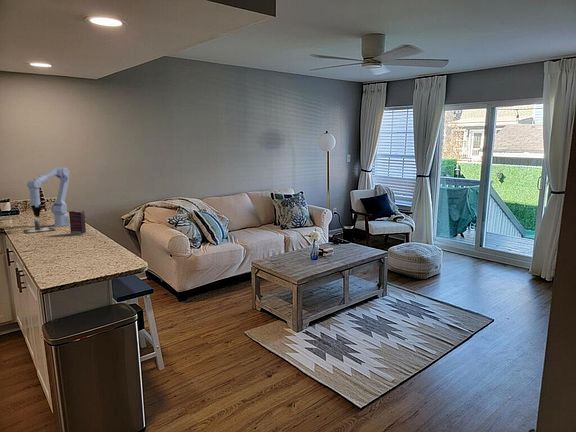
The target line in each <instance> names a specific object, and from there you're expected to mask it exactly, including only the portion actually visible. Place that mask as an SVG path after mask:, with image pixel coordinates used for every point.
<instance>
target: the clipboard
mask: <svg viewBox="0 0 576 432" xmlns="http://www.w3.org/2000/svg"><path fill="white" fill-rule="evenodd" d="M54 227H55V226H48V227H46V226H45V227H40V230H35V227H34V228H26V229H25V228H24V229H23V232H24V231H25V232H24V233H25V234H26V235H27V234H37V233H46V232H47V233H48V232H56V228H54Z"/></svg>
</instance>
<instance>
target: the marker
mask: <svg viewBox="0 0 576 432" xmlns="http://www.w3.org/2000/svg"><path fill="white" fill-rule="evenodd" d="M33 222H34V228H35V230H40V228H41V225H40V219H33Z"/></svg>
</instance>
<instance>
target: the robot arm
mask: <svg viewBox="0 0 576 432" xmlns="http://www.w3.org/2000/svg"><path fill="white" fill-rule="evenodd" d="M70 174H71V171H70V170H69V169H68V168H67V167H57V166H55V167H54V168H52V169H51V170H50V171H48V172H47V173H45V174H39V175H38V176H37V177H35V178H33V179H30V180H28V181H27V183H26V186H27V188H28V190H29V197H30V203H28V205H29V206H30V208H31V210H32V212H33V215H34V217H35V218H36V217H37V218H39V217H40V215H41V209H42V206H41V203H42V202H41V197H40V196H41V195H40V188H41V186H42V185H45V184H46V183H47V182H48V180H49V179H50V178H52V177H56V178H57V179H58V180H60V182H59V187H58V190H57V191H58V192H57V196H56V200H55V201H54V202H52V205H51V207H50V211H51V213H52V214H53V216H54V218H53V219H54V224H53V227H64V226H70V218H69V212H67V211H68V207H67V206H68V204H67V203H66V202H65V201H66V197H67V193H68V189H69V188H68V187H69V183H70Z"/></svg>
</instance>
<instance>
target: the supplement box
mask: <svg viewBox="0 0 576 432" xmlns="http://www.w3.org/2000/svg"><path fill="white" fill-rule="evenodd" d="M68 216H69V226H70V227H69V229H70V235H81V236H82V235H86V234H87V229H86V216H85V211H84V210H70V211H69V212H68ZM85 233H86V234H85Z"/></svg>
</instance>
